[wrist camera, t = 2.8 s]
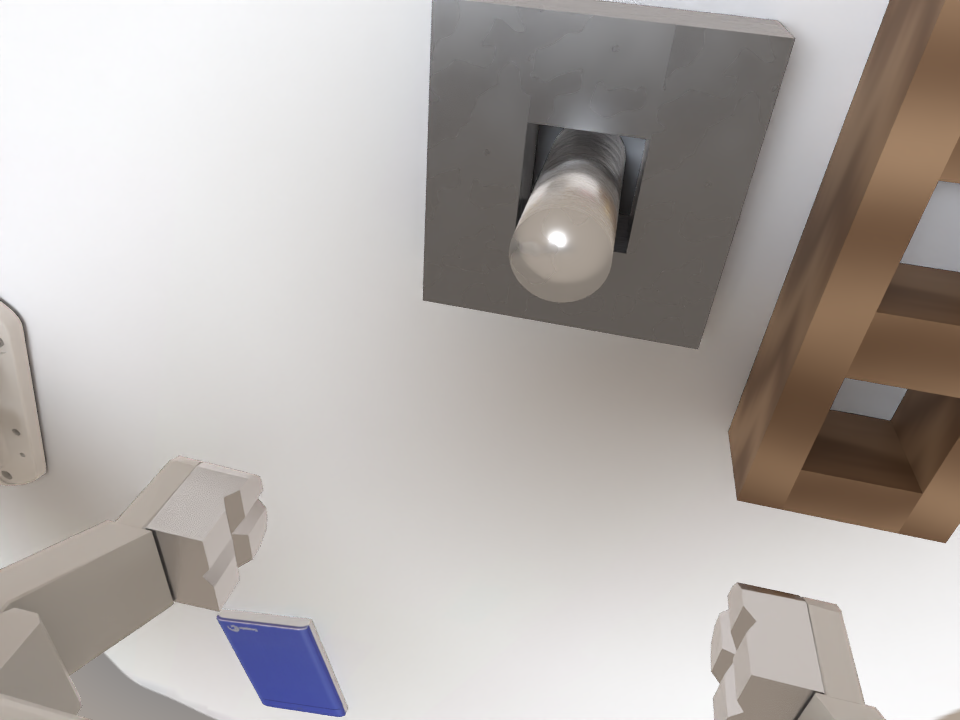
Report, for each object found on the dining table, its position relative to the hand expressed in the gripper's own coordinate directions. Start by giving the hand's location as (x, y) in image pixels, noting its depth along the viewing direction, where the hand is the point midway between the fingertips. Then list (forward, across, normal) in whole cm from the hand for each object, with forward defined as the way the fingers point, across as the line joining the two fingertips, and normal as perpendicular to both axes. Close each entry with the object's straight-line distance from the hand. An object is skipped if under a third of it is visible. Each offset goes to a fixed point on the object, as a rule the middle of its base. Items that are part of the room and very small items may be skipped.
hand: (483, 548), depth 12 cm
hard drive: (+22, -18, -46) cm, 54 cm away
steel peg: (+22, 0, 0) cm, 22 cm away
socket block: (+22, 0, 0) cm, 22 cm away
